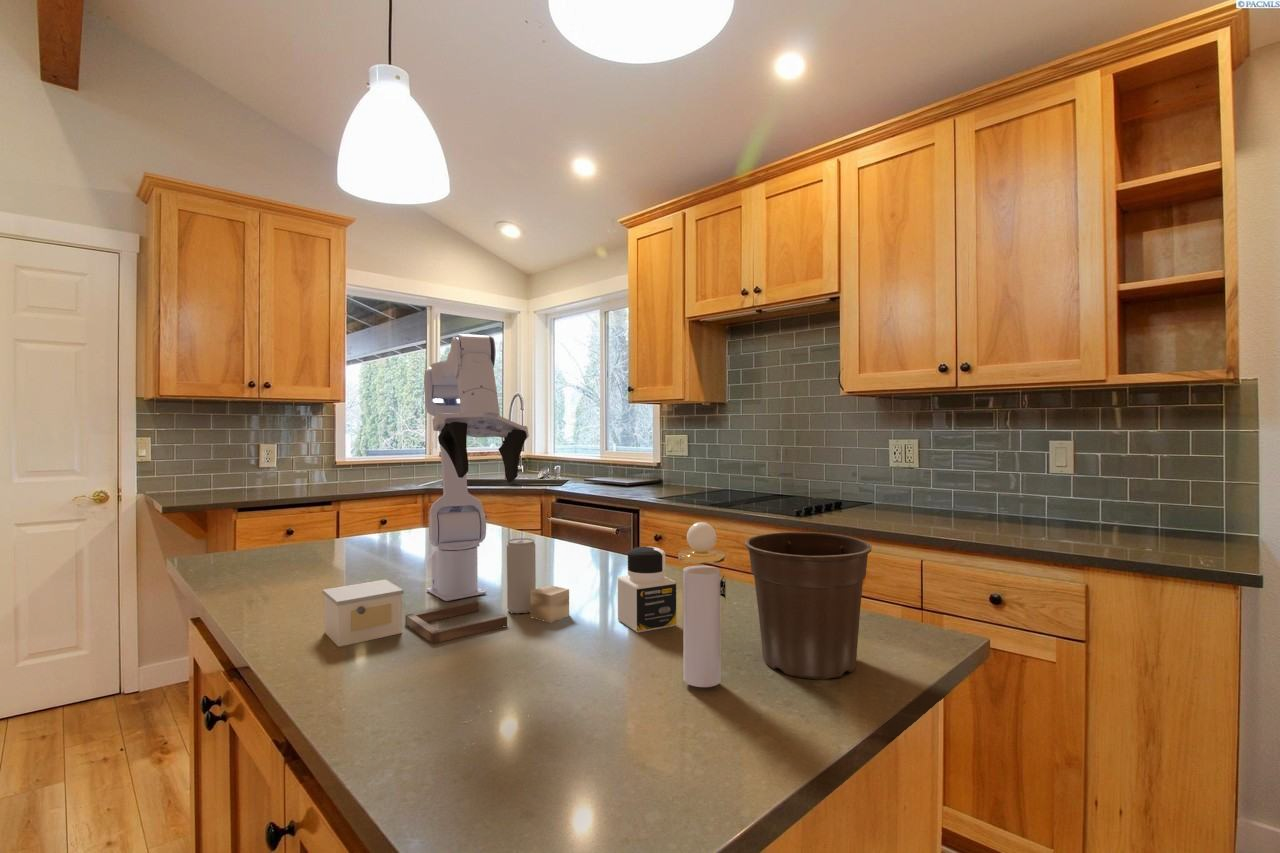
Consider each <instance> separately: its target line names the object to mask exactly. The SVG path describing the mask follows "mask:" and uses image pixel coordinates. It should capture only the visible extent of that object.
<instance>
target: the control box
mask: <svg viewBox="0 0 1280 853" xmlns="http://www.w3.org/2000/svg"><path fill="white" fill-rule="evenodd" d="M322 594H323V595H324V602H323V603H324V604H323V605H324V634H325V635H327V637H328V638H329V639H331V641H332V642H333V643H334V644H335V645H336V646H337V647H338V648H339V647H346V646H350V645H353V644H358V643H362V642H367V641H372V640H376V639H381V638H385V637H390V636H393V635H399V634H402V633H403V605H402V604H403V596H402V595H403V594H404V589H403V588H401V587H399V586H398V585H396V584H394V583H392V582H391V581H389V580H388V579H387V578H386V579H379V580H375V581H367V582H362V583H356V584H355V583H354V584H349V585H344V586H339V587H338V586H337V587H332V588H331V587H330V588H325V589H322Z"/></svg>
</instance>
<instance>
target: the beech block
mask: <svg viewBox="0 0 1280 853" xmlns="http://www.w3.org/2000/svg"><path fill="white" fill-rule="evenodd" d="M530 597H531V612H530V618H531V617H533V618H537V619H540V620H539V621H541V620H544V621H543V622H545V621H548V622H547V623H549V622H552V623H554V622H556V621H555V620H557V621H559V620H562V619H564V618H563V617H565V618H566V616H567V617H569V616H570V589H569V588H565V587H559V586H556V585H555V586H554V585H546V586H542V587H538V588H537V589H536V590H533V591H530ZM568 615H569V616H568ZM533 618H532V619H533ZM561 618H562V619H561ZM537 619H536V620H537ZM558 619H559V620H558ZM553 621H554V622H553Z"/></svg>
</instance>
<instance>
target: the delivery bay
mask: <svg viewBox="0 0 1280 853" xmlns="http://www.w3.org/2000/svg"><path fill="white" fill-rule="evenodd" d="M479 606H480V603H479V601H477V600H471V601H467V602H464V603H457V604H454V605H453V604H452V605H448V606H443V607H438V608H433V609H428V610H424V611H418V612H414V613H409V614H408V613H407V614H405V615H404V616H405V617H404V618H405V620H404V621H405V622H404V623H405V625H406V626H407V627H408V626H409V627H408V628H410V629H411V630H412V631H414V632H415V631H416V633H417V634H419V636H421V637H422V636H423V637H422V638H424V639H425V640H427V642H429V641H430V642H429V643H431V644H432V643H433V645H434V643H435V644H438V642H439V643H442V641H443V642H446V640H447V641H451V640H455V639H459V637H460V638H463V637H468V636H472V635H476V634H479V633H480V632H481V633H484V631H485V632H488V631H493V630H497V629H500V627H501V628H504V627H503V626H506V627H508V616H506V615H505V614H501V615H497V616H493V617H488V618H484V619H483V618H482V619H479V620H475V621H471V622H466V623H461V624H457V625H452V626H448V627H444V628H439V629H437V628H436V627H434V626H432V625H431V624H430V622H434V621H438V619H439V620H443V618H444V619H448V618H447V617H449V618H453V617H457V616H462V614H463V615H466V614H471V613H476V611H477V612H479V611H480V608H479ZM429 621H430V622H429ZM496 628H497V629H496ZM492 629H493V630H492ZM454 638H455V639H454Z"/></svg>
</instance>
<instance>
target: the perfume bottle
mask: <svg viewBox="0 0 1280 853" xmlns="http://www.w3.org/2000/svg"><path fill="white" fill-rule="evenodd" d="M686 541H687V542H686V543H687V544H688V546H689V547H690V548H689V549H684V550H679V551H678V553H677V559H678V560H679V561H682V562H684V563H689V564H706V565H691V566H686V567H684V568H683V569H682V586H683V587H682V593H683V594H682V598H683V599H682V600H683V601H682V608H683V609H682V615H683V617H682V630H683V631H682V632H683V633H682V634H683V636H682V638H683V640H682V642H683V645H682V646H683V647H682V648H683V654H682V656H683V660H682V661H683V666H682V668H683V672H682V673H683V682H685V684H688V685H690V686H692V687H698V688H711V687H714V686H718V685H719V684H720V683H721V682H722V677H721V676H722V673H721V671H722V669H721V667H722V665H721V660H722V659H721V657H722V656H721V655H722V654H721V653H722V652H721V650H722V649H721V645H722V644H721V641H722V640H721V636H722V635H721V632H722V631H721V629H722V628H721V624H722V623H721V618H722V617H721V615H722V614H721V612H722V611H721V597H723V598H724V601H726V581H725V580H726V578H724V577H725V574H724V575H723V576H722V578H721V569H720V568H719V567H715V566H712V565H711V566H710V565H707V564H716V563H722V562H725V560H726V552H724V551H722V550H718V549H713V548H714V547H715V545H716V543H717V533H716V529H715V528H714V527H713V526H712V525H711V524H709V523H708V522H704V521H698V522H695V523H693V524H692V525H691V526H690V527H689V529H688V530H687V533H686ZM724 605H725V608H726V604H724Z"/></svg>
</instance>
